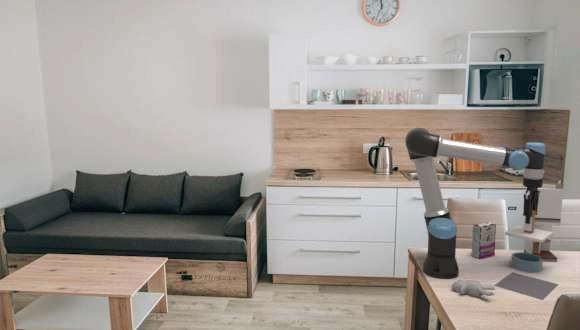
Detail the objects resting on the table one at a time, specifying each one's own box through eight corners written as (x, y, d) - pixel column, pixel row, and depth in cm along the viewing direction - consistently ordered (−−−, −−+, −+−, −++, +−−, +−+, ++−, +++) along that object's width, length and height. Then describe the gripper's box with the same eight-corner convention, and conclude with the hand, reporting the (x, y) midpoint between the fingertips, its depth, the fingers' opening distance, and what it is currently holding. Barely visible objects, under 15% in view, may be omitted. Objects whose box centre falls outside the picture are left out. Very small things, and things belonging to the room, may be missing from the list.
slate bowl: (522, 274, 189) (523, 262, 188) (505, 264, 200) (506, 253, 200) (547, 273, 190) (548, 261, 189) (529, 263, 202) (530, 251, 201)
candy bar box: (486, 252, 216) (488, 220, 214) (494, 255, 212) (496, 223, 210) (470, 256, 211) (472, 223, 209) (479, 259, 207) (481, 226, 204)
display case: (530, 260, 205) (536, 188, 200) (523, 252, 215) (528, 184, 210) (556, 262, 203) (563, 189, 197) (548, 254, 213) (554, 185, 208)
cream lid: (541, 242, 182) (543, 217, 180) (504, 234, 193) (506, 210, 191) (553, 234, 192) (555, 210, 190) (517, 227, 203) (519, 204, 201)
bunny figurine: (456, 275, 178) (495, 280, 169) (457, 287, 179) (496, 293, 169) (449, 283, 171) (489, 289, 162) (450, 296, 171) (490, 302, 162)
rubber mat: (542, 301, 163) (542, 300, 163) (493, 287, 176) (494, 285, 176) (558, 286, 177) (558, 284, 177) (512, 273, 190) (512, 272, 190)
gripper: (536, 181, 181) (532, 235, 184) (548, 176, 191) (544, 227, 195) (517, 179, 186) (513, 231, 190) (530, 174, 197) (526, 224, 200)
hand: (529, 229), depth 192 cm, fingers closed on cream lid, 3 cm apart
